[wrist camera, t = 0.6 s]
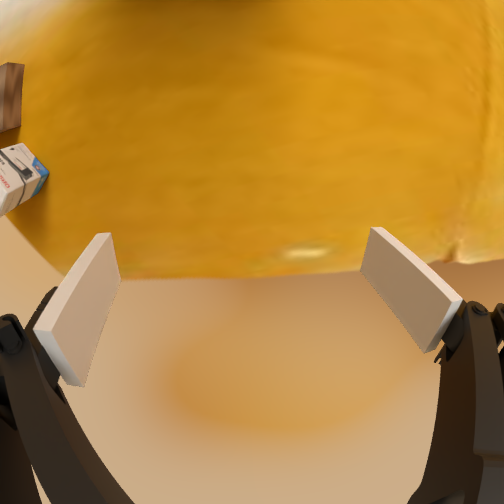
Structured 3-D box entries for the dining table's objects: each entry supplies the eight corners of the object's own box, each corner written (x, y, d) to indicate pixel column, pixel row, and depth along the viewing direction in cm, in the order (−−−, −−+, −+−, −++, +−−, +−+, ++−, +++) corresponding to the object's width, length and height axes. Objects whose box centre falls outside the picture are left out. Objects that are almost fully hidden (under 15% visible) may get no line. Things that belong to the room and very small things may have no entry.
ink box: (51, 172, 32) (8, 194, 22) (37, 194, 33) (-4, 222, 23) (22, 140, 28) (-23, 155, 18) (10, 164, 29) (-33, 184, 19)
